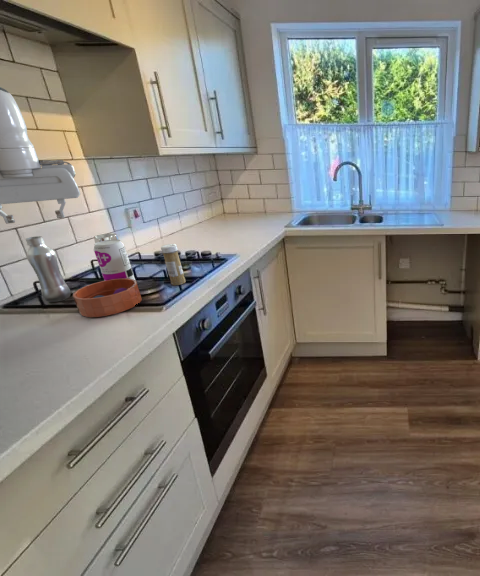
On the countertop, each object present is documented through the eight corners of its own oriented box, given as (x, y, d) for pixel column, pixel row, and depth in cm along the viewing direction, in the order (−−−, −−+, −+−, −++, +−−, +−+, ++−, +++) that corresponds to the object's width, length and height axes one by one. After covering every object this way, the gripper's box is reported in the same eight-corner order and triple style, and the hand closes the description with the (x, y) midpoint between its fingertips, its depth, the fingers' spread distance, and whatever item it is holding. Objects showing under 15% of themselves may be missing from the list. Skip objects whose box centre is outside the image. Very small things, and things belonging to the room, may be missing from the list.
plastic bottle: (55, 296, 115) (29, 235, 107) (78, 295, 116) (54, 234, 108) (40, 305, 109) (11, 241, 101) (64, 303, 110) (37, 240, 102)
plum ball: (109, 288, 106) (126, 283, 109) (114, 297, 110) (130, 292, 112) (113, 298, 105) (130, 293, 107) (118, 307, 108) (135, 302, 110)
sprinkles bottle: (189, 282, 124) (179, 244, 119) (177, 286, 121) (166, 248, 115) (179, 280, 126) (170, 242, 121) (167, 284, 122) (157, 246, 117)
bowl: (67, 314, 103) (60, 295, 101) (119, 293, 116) (113, 276, 114) (104, 322, 98) (96, 302, 96) (153, 299, 112) (148, 281, 109)
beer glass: (130, 276, 131) (117, 235, 125) (106, 280, 127) (92, 239, 121) (129, 270, 136) (117, 231, 130) (107, 274, 132) (93, 235, 126)
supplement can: (118, 290, 118) (103, 246, 112) (101, 287, 121) (85, 244, 115) (141, 281, 125) (128, 240, 119) (124, 279, 128) (111, 238, 122)
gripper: (70, 158, 92) (88, 212, 98) (-46, 162, 81) (-19, 223, 86) (70, 159, 88) (89, 216, 93) (-54, 164, 76) (-24, 228, 82)
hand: (36, 220), depth 90 cm, fingers open, 8 cm apart
